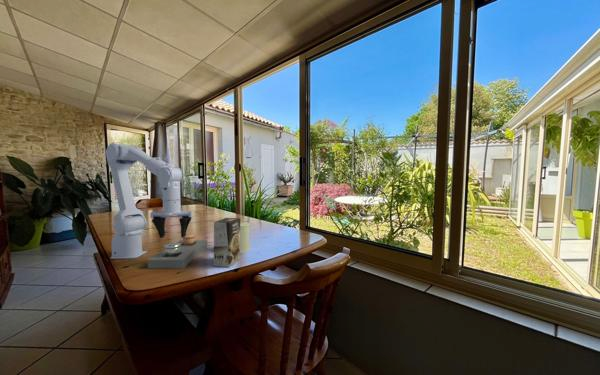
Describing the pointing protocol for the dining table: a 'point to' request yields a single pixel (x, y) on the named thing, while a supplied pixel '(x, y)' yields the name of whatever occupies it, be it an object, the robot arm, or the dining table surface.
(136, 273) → the dining table surface
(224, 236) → the coffee box
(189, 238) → the tan rounded lump
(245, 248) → the can
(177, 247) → the grey plunger
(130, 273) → the dining table surface
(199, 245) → the console
